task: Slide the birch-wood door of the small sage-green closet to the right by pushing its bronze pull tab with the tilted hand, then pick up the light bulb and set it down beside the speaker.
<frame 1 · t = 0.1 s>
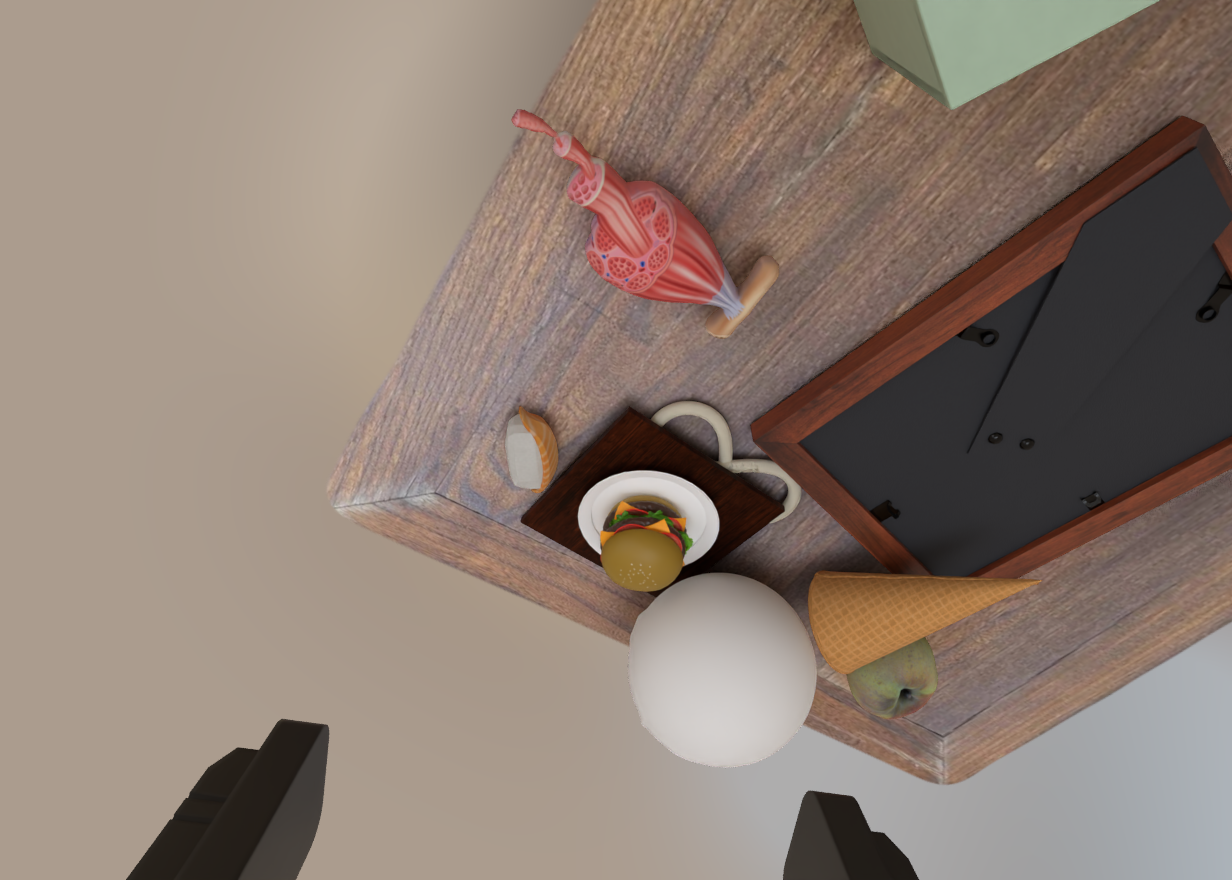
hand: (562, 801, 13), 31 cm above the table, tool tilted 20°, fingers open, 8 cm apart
decorative ball: (731, 601, 46), point 6 cm above the table, touching hamburger
picture frame: (1029, 406, 44), on the table, touching ice cream cone
sushi: (504, 450, 46), point 1 cm above the table
anatomical model: (595, 271, 38), point 2 cm above the table
hamburger: (649, 509, 49), on the table, touching decorative ball, decorative object
ice cream cone: (1047, 582, 43), point 7 cm above the table, touching picture frame
apple: (873, 638, 56), on the table
decorative object: (757, 439, 46), point 1 cm above the table, touching hamburger
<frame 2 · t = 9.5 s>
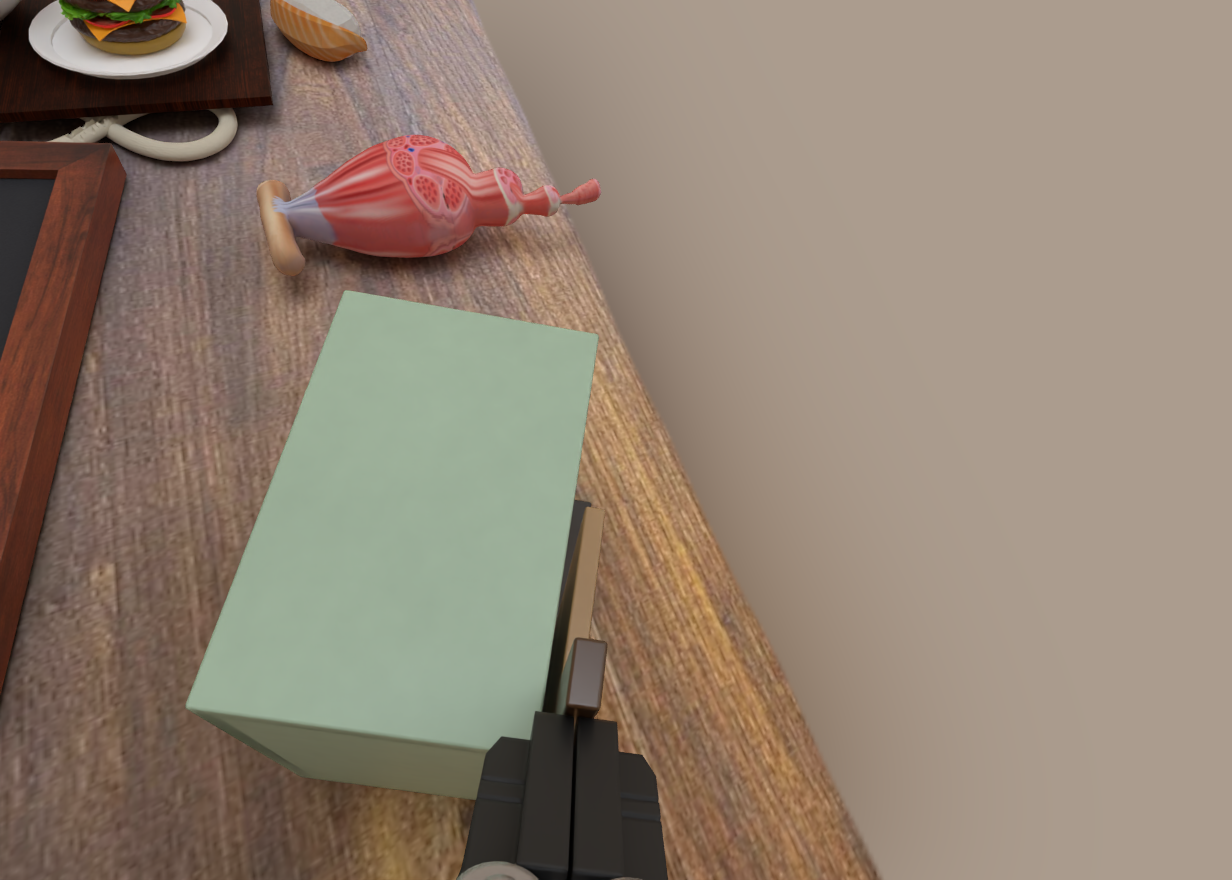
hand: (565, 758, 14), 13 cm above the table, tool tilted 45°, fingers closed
sushi: (339, 12, 42), point 1 cm above the table
anatomical model: (427, 155, 36), point 2 cm above the table
hamburger: (140, 51, 39), on the table, touching decorative ball, decorative object
closet: (447, 625, 28), on the table
decorative object: (104, 163, 35), point 1 cm above the table, touching hamburger
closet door: (570, 652, 20), point 8 cm above the table, slide at 0.4 cm, touching gripper
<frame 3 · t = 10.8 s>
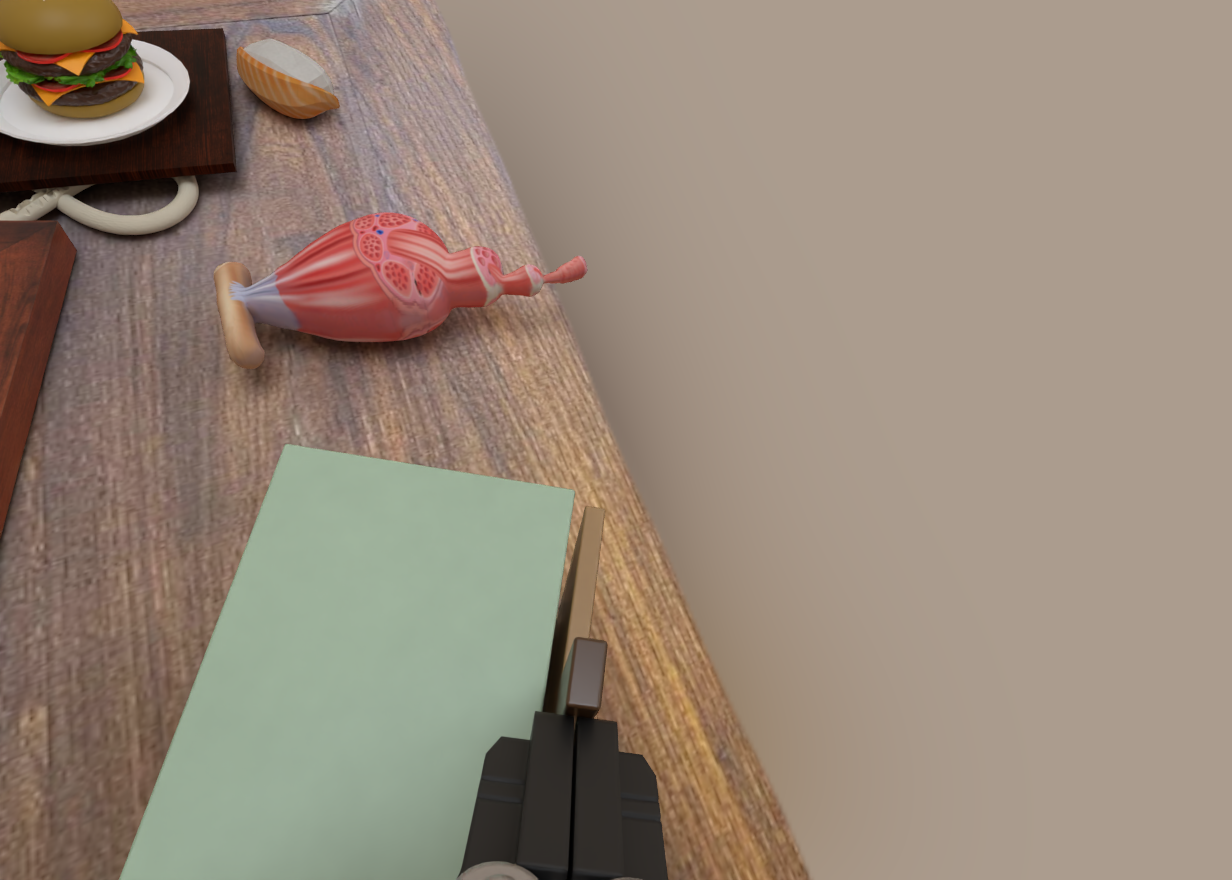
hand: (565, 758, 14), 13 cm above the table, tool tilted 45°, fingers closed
sushi: (311, 66, 39), point 1 cm above the table
anatomical model: (401, 229, 33), point 2 cm above the table
hamburger: (96, 111, 37), on the table, touching decorative ball, decorative object
closet: (414, 770, 25), on the table
decorative object: (51, 240, 33), point 1 cm above the table, touching hamburger
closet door: (570, 651, 20), point 8 cm above the table, slide at 5.2 cm, touching gripper
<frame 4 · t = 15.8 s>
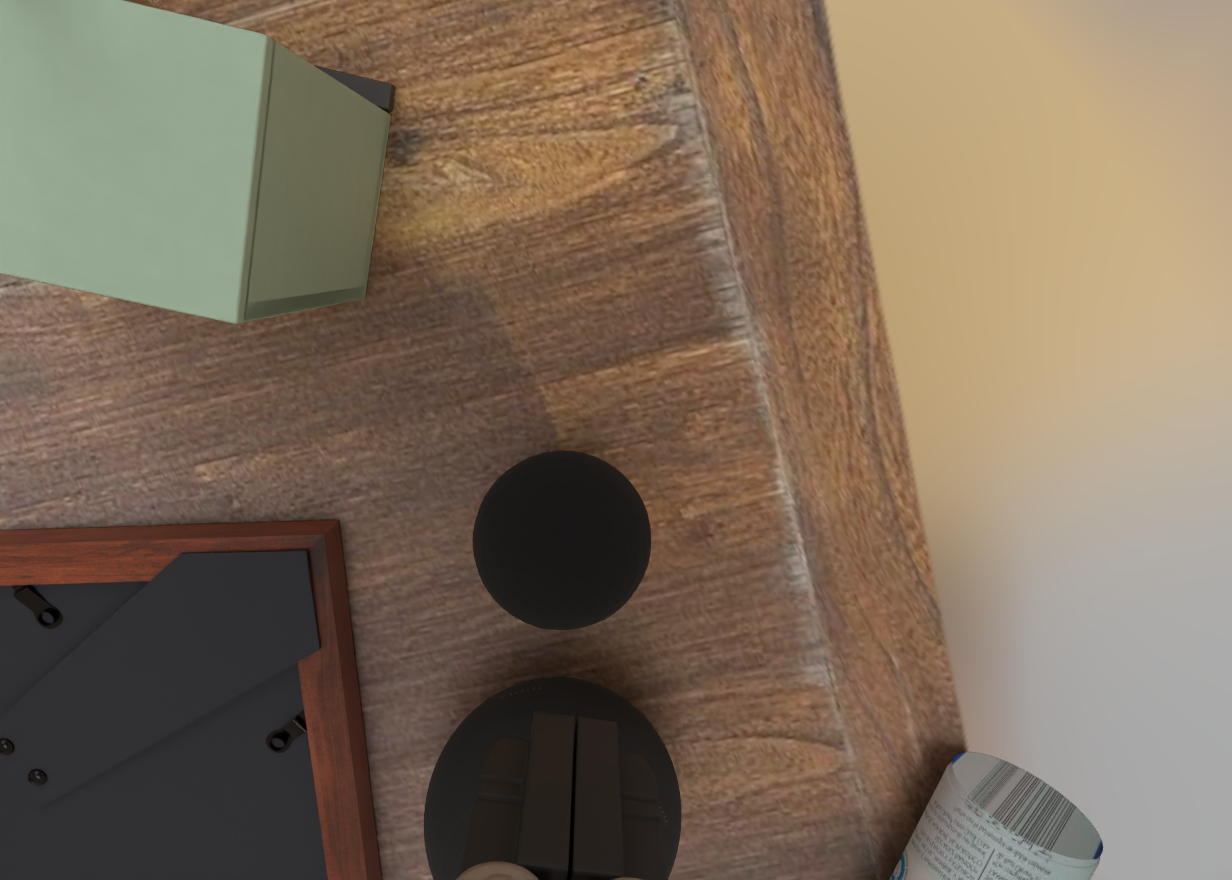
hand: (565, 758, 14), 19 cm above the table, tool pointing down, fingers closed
picture frame: (88, 735, 35), on the table, touching ice cream cone
spray paint can: (1026, 797, 32), point 3 cm above the table
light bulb: (572, 477, 33), on the table
closet: (234, 176, 29), on the table
speaker: (561, 730, 35), on the table
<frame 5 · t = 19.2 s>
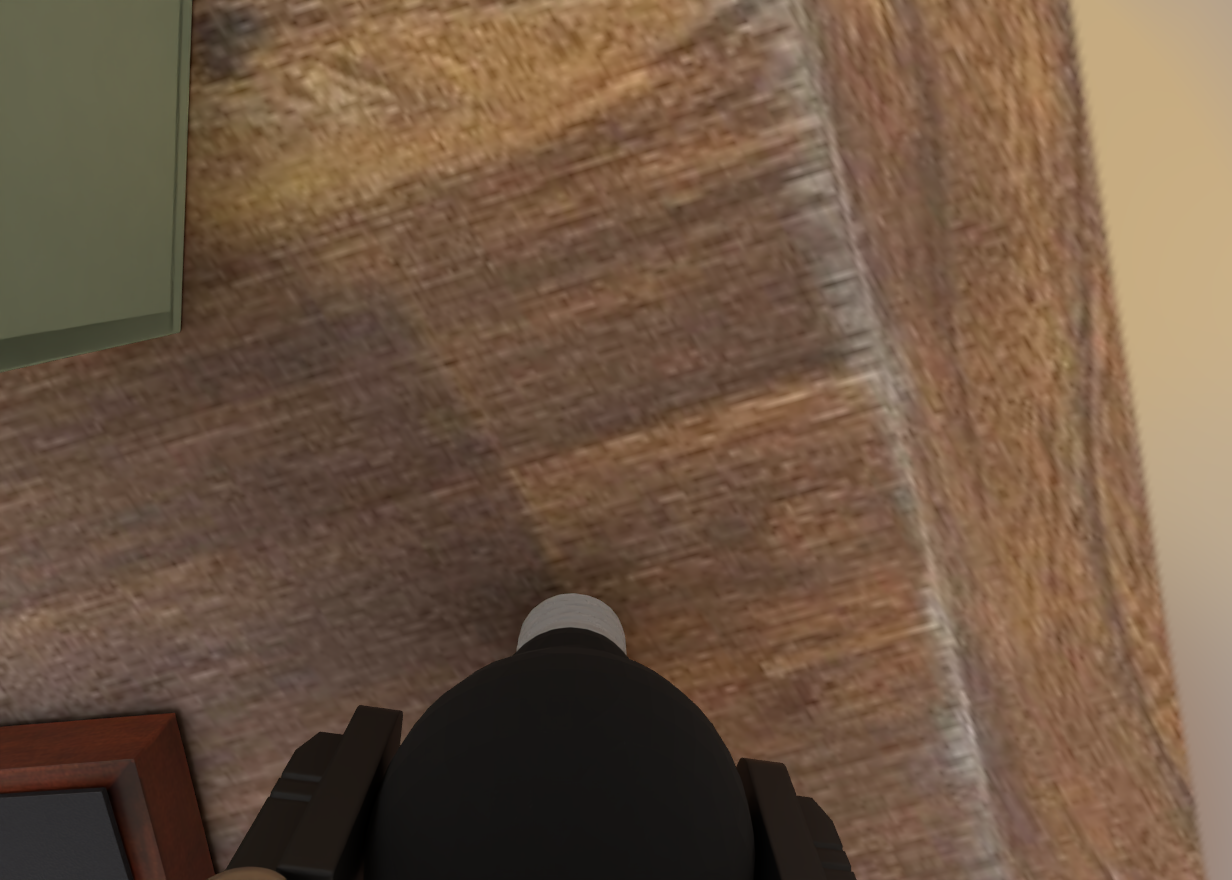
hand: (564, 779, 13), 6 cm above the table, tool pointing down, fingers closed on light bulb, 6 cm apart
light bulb: (573, 619, 19), on the table, touching gripper
when the fingers open (6 cm above the table, at t = 25.3 s): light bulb stays where it is, on the table.
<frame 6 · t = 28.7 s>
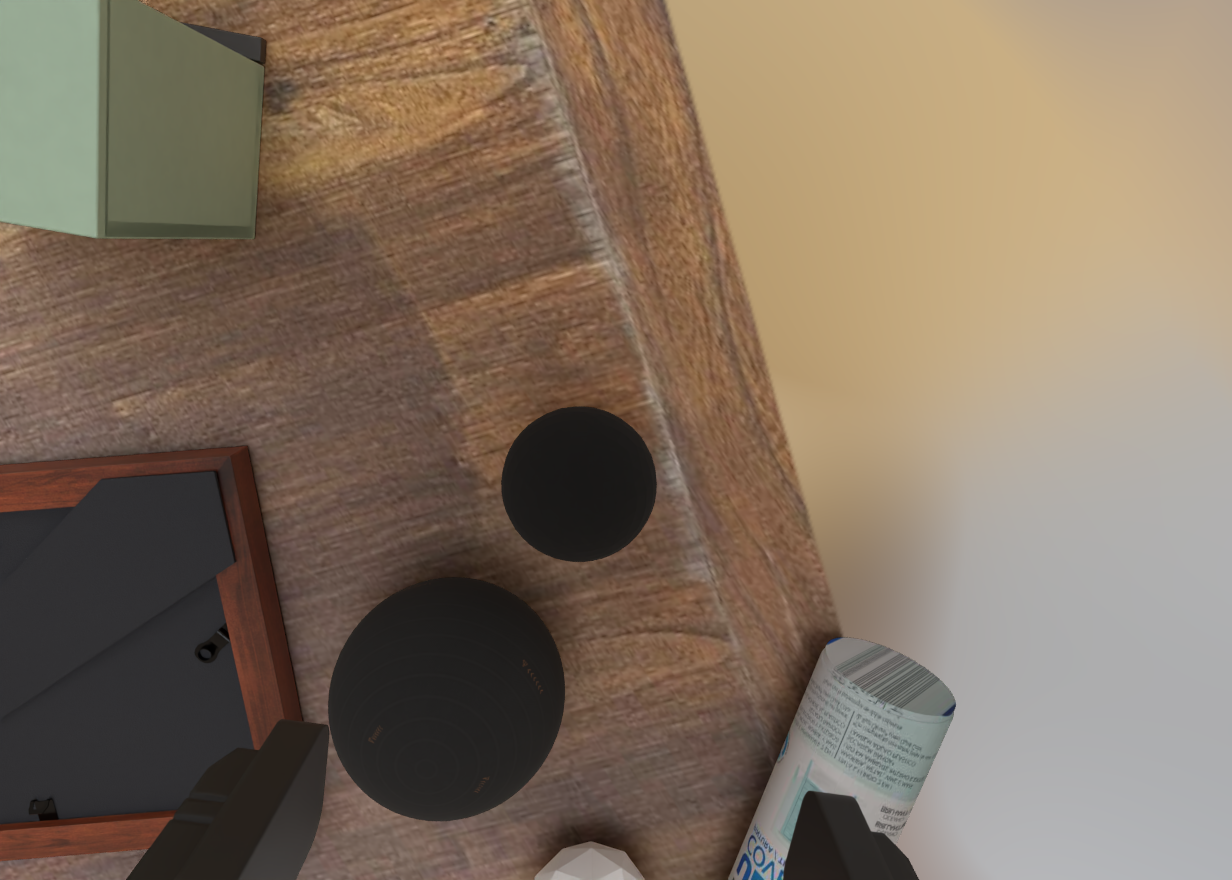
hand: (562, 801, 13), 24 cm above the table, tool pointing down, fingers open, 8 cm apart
picture frame: (35, 658, 38), on the table, touching ice cream cone
spray paint can: (890, 670, 36), point 3 cm above the table
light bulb: (582, 436, 36), on the table
closet: (126, 131, 32), on the table
speaker: (469, 634, 39), on the table
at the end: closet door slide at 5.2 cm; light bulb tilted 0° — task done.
